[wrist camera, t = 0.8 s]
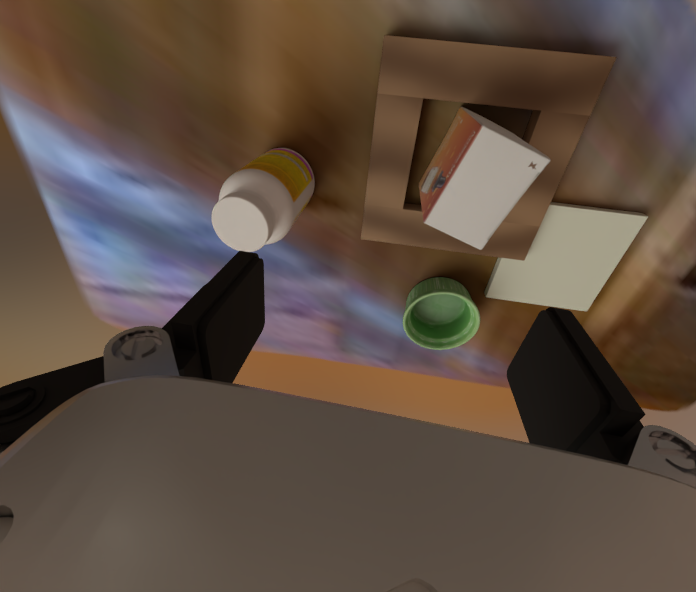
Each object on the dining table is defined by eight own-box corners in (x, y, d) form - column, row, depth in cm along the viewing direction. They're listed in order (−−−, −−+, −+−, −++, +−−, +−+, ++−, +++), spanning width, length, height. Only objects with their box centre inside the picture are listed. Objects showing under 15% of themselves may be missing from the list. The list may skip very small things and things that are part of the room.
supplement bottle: (257, 140, 34) (193, 173, 24) (319, 153, 34) (283, 192, 24) (257, 202, 38) (202, 253, 28) (312, 213, 38) (279, 270, 28)
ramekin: (488, 289, 41) (497, 310, 37) (448, 336, 46) (452, 359, 42) (424, 261, 40) (426, 280, 36) (391, 312, 45) (390, 334, 41)
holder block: (385, 36, 28) (384, 35, 26) (603, 57, 27) (616, 57, 25) (362, 231, 38) (360, 238, 37) (518, 252, 37) (524, 260, 36)
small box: (460, 104, 30) (484, 120, 21) (512, 132, 31) (555, 157, 22) (416, 184, 35) (421, 223, 26) (462, 207, 35) (481, 252, 27)
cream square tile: (521, 198, 34) (524, 201, 33) (642, 213, 33) (648, 216, 32) (484, 292, 41) (485, 297, 40) (583, 306, 40) (586, 311, 39)
